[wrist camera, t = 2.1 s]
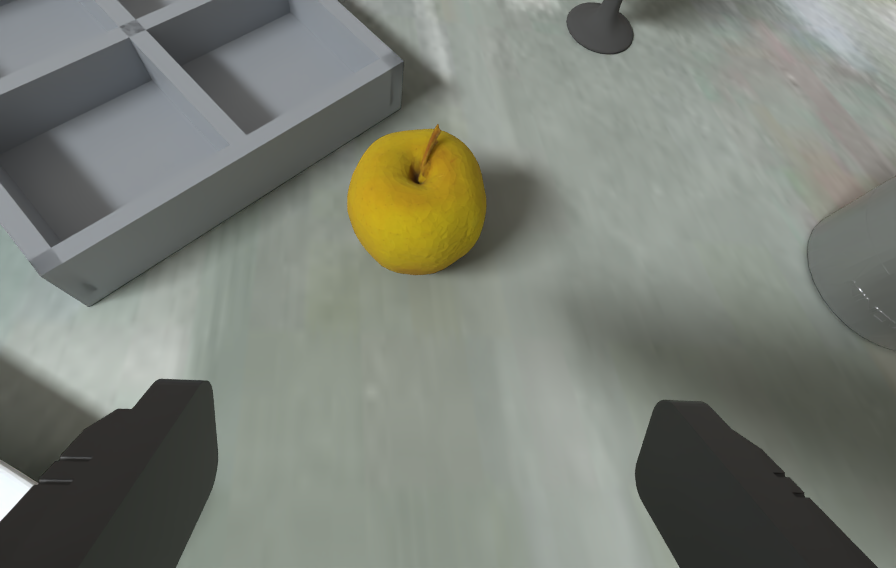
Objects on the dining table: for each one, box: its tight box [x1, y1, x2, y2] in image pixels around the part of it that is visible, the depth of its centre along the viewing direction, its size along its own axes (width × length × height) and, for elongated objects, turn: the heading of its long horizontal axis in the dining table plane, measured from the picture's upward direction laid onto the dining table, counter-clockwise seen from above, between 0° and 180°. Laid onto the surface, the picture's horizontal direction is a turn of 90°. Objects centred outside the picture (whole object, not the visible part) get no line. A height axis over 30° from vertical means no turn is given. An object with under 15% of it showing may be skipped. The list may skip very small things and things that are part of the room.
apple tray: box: [0, 0, 404, 307], centre depth 26 cm, size 20×20×4 cm
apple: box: [347, 124, 486, 275], centre depth 23 cm, size 6×6×8 cm
